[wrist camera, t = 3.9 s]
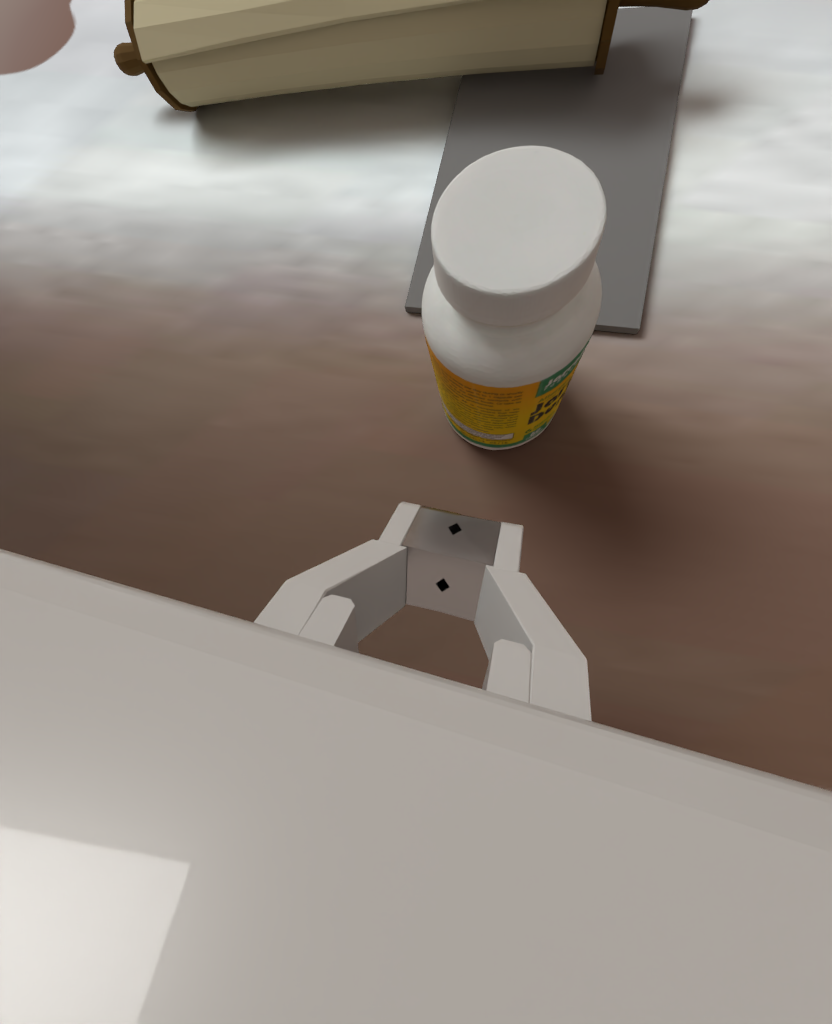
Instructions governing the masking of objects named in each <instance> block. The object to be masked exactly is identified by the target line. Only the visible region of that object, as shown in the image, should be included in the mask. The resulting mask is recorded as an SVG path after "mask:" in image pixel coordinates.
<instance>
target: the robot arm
mask: <svg viewBox="0 0 832 1024" xmlns="http://www.w3.org/2000/svg"><path fill="white" fill-rule="evenodd" d="M523 530H524V528H523V525H518V524H512V523H506V522H502V523H501V522H497V521H491V520H486V519H481V518H476V517H471V516H466V515H461V514H458V513H453V512H449V511H444V510H440V509H435V508H431V507H426V506H421V505H417V504H412V503H407V502H401V503H400V504H399V505H398V507H397V508H396V510H395V512H394V514H393V515H392V517H391V519H390V521H389V522H388V524H387V526H386V528H385V529H384V531H383V533H382V535H381V536H380V538H379V540H373V539H372V540H370V541H368V542H366V543H364V544H362V545H360V546H358V547H355V548H353V549H351V550H349V551H347V552H345V553H343V554H341V555H339V556H336V557H334V558H332V559H330V560H328V561H326V562H324V563H322V564H320V565H318V566H315V567H313V568H311V569H309V570H307V571H305V572H303V573H301V574H299V575H296V576H294V577H292V578H290V579H288V580H286V581H285V582H284V584H283V585H282V586H281V588H280V589H279V590H278V591H277V593H276V594H275V595H274V597H273V598H272V599H271V601H270V602H269V603H268V604H267V606H266V607H265V608H264V610H263V611H262V612H261V613H260V615H259V616H258V617H257V619H256V620H255V621H254V622H250V621H246V620H243V619H240V618H236V617H233V616H229V615H226V614H223V613H219V612H216V611H212V610H209V609H205V608H202V607H199V606H195V605H192V604H188V603H185V602H181V601H178V600H175V599H171V598H168V597H164V596H161V595H157V594H154V593H151V592H147V591H144V590H140V589H137V588H133V587H130V586H127V585H123V584H120V583H116V582H113V581H109V580H106V579H103V578H99V577H96V576H92V575H89V574H85V573H82V572H79V571H75V570H72V569H68V568H65V567H61V566H58V565H55V564H51V563H48V562H44V561H41V560H37V559H34V558H30V557H27V556H24V555H20V554H17V553H13V552H10V551H6V550H3V549H0V1024H832V791H829V790H825V789H822V788H818V787H815V786H812V785H808V784H805V783H801V782H798V781H795V780H791V779H788V778H784V777H781V776H777V775H774V774H771V773H767V772H764V771H760V770H757V769H753V768H750V767H747V766H743V765H740V764H736V763H733V762H730V761H726V760H723V759H719V758H716V757H712V756H709V755H706V754H702V753H699V752H695V751H692V750H688V749H685V748H682V747H678V746H675V745H671V744H668V743H665V742H661V741H658V740H654V739H651V738H647V737H644V736H641V735H637V734H634V733H630V732H627V731H623V730H620V729H617V728H613V727H610V726H606V725H603V724H600V723H596V722H593V721H591V708H590V695H589V681H588V668H587V659H586V658H585V656H584V655H583V654H582V652H581V651H580V649H579V648H578V647H577V645H576V644H575V642H574V641H573V640H572V638H571V637H570V635H569V634H568V633H567V631H566V630H565V628H564V627H563V626H562V624H561V623H560V621H559V620H558V619H557V617H556V616H555V614H554V613H553V612H552V610H551V609H550V607H549V606H548V605H547V603H546V602H545V600H544V599H543V598H542V596H541V595H540V593H539V592H538V591H537V589H536V588H535V586H534V585H533V583H532V582H531V581H530V579H529V578H528V576H527V575H526V574H524V573H520V572H519V569H520V559H521V550H522V540H523ZM405 604H409V605H413V606H417V607H422V608H426V609H430V610H435V611H439V612H443V613H446V614H450V615H453V616H457V617H460V618H464V619H467V620H471V621H474V624H475V626H476V629H477V631H478V634H479V636H480V639H481V641H482V644H483V646H484V649H485V652H486V654H487V657H488V659H489V664H488V668H487V672H486V675H485V679H484V683H483V686H482V689H479V688H476V687H472V686H469V685H466V684H462V683H459V682H455V681H452V680H448V679H445V678H442V677H438V676H435V675H431V674H428V673H424V672H421V671H418V670H414V669H411V668H407V667H404V666H401V665H397V664H394V663H390V662H387V661H383V660H380V659H377V658H373V657H370V656H366V655H363V654H359V651H358V642H359V641H361V640H362V639H363V638H364V637H366V636H367V635H368V634H370V633H371V632H372V631H373V630H375V629H376V628H377V627H379V626H380V625H381V624H382V623H384V622H385V621H386V620H388V619H389V618H390V617H391V616H393V615H394V614H395V613H396V612H398V611H399V610H400V609H402V608H403V607H404V606H405Z"/></svg>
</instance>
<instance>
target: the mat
mask: <svg viewBox="0 0 832 1024" xmlns="http://www.w3.org/2000/svg"><path fill="white" fill-rule="evenodd" d="M691 16H692V10H687V11H685V10H678V9H669V8H661V7H639V8H622V9H618V12H617V16H616V21H615V25H614V30H613V34H612V39H611V43H610V48H609V52H608V56H607V61H606V65H605V70H604V74H603V75H594V72H595V67H596V62H597V61H596V62H594V66H585V67H571V68H556V69H541V70H526V71H512V72H497V73H482V74H469V75H463V76H462V80H461V84H460V88H459V92H458V96H457V100H456V104H455V108H454V112H453V116H452V120H451V124H450V128H449V132H448V136H447V140H446V144H445V148H444V152H443V156H442V160H441V164H440V168H439V172H438V176H437V180H436V184H435V188H434V192H433V196H432V200H431V204H430V208H429V212H428V216H427V220H426V224H425V228H424V232H423V236H422V240H421V244H420V248H419V252H418V256H417V260H416V264H415V268H414V272H413V276H412V280H411V284H410V288H409V292H408V296H407V300H406V304H405V309H406V312H414V313H422V297H423V292H424V287H425V284H426V281H427V278H428V276H429V273H430V271H431V269H432V267H433V265H434V258H433V250H432V242H431V224H432V218H433V214H434V211H435V208H436V206H437V203H438V201H439V199H440V197H441V195H442V194H443V192H444V191H445V189H446V188H447V186H448V185H449V184H450V183H451V181H452V180H453V179H454V178H455V177H456V176H457V175H458V174H459V173H461V171H463V170H464V169H465V168H466V167H467V166H469V165H470V164H472V163H473V162H475V161H477V160H478V159H480V158H482V157H484V156H486V155H489V154H491V153H493V152H496V151H500V150H503V149H507V148H512V147H519V146H531V145H532V146H545V147H550V148H554V149H557V150H560V151H563V152H565V153H568V154H570V155H572V156H574V157H575V158H577V159H579V160H581V161H582V162H583V163H584V164H585V165H586V166H587V167H589V168H590V169H591V170H592V171H593V172H594V174H595V176H596V177H597V178H598V180H599V182H600V184H601V187H602V190H603V192H604V195H605V199H606V214H607V219H606V223H605V228H604V232H603V235H602V239H601V242H600V245H599V248H598V252H597V255H596V258H595V262H596V264H597V266H598V270H599V273H600V278H601V285H602V298H601V307H600V312H599V316H598V319H597V322H596V325H595V328H594V330H599V331H610V332H620V333H630V334H637V332H638V331H639V329H640V324H641V318H642V312H643V306H644V300H645V294H646V288H647V282H648V276H649V270H650V264H651V258H652V252H653V246H654V240H655V234H656V228H657V221H658V215H659V209H660V203H661V197H662V191H663V185H664V179H665V173H666V167H667V161H668V155H669V149H670V143H671V137H672V131H673V125H674V119H675V113H676V107H677V101H678V95H679V89H680V83H681V77H682V71H683V65H684V59H685V53H686V46H687V40H688V34H689V28H690V22H691Z"/></svg>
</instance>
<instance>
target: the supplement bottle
mask: <svg viewBox="0 0 832 1024" xmlns="http://www.w3.org/2000/svg"><path fill="white" fill-rule="evenodd" d="M606 219H607V214H606V199H605V195H604V192H603V190H602V187H601V184H600V182H599V180H598V178H597V177H596V176H595V174H594V172H593V171H592V170H591V169H590V168H589V167H587V166H586V165H585V164H584V163H583V162H582V161H581V160H579V159H577V158H575V157H574V156H572V155H570V154H568V153H565V152H563V151H560V150H557V149H554V148H550V147H545V146H532V145H531V146H519V147H512V148H507V149H503V150H500V151H496V152H493V153H491V154H489V155H486V156H484V157H482V158H480V159H478V160H477V161H475V162H473V163H472V164H470V165H469V166H467V167H466V168H465V169H464V170H463V171H461V173H459V174H458V175H457V176H456V177H455V178H454V179H453V180H452V181H451V183H450V184H449V185H448V186H447V188H446V189H445V191H444V192H443V194H442V195H441V197H440V199H439V201H438V203H437V206H436V208H435V211H434V214H433V218H432V224H431V242H432V250H433V258H434V265H433V267H432V269H431V271H430V273H429V276H428V278H427V281H426V284H425V287H424V292H423V297H422V322H423V328H424V333H425V338H426V343H427V346H428V350H429V353H430V357H431V361H432V365H433V369H434V372H435V377H436V381H437V385H438V389H439V393H440V397H441V401H442V405H443V408H444V412H445V415H446V417H447V419H448V421H449V423H450V425H451V426H452V428H453V429H454V430H455V432H456V433H457V434H458V435H459V436H461V437H462V438H463V439H464V440H466V441H467V442H469V443H471V444H473V445H475V446H478V447H481V448H484V449H489V450H503V449H510V448H514V447H517V446H521V445H523V444H525V443H527V442H529V441H531V440H532V439H534V438H536V437H537V436H538V435H540V434H541V433H542V432H543V431H544V430H545V428H546V427H547V426H548V425H549V423H550V422H551V420H552V418H553V416H554V415H555V413H556V411H557V409H558V406H559V404H560V402H561V400H562V397H563V395H564V394H565V391H566V389H567V387H568V384H569V382H570V380H571V378H572V376H573V374H574V371H575V369H576V367H577V365H578V363H579V361H580V359H581V357H582V354H583V353H584V350H585V348H586V346H587V344H588V342H589V340H590V338H591V336H592V334H593V331H594V328H595V325H596V322H597V319H598V316H599V312H600V307H601V298H602V285H601V278H600V273H599V270H598V266H597V264H596V262H595V258H596V255H597V252H598V248H599V245H600V242H601V239H602V235H603V232H604V228H605V223H606Z"/></svg>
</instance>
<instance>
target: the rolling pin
mask: <svg viewBox="0 0 832 1024" xmlns="http://www.w3.org/2000/svg"><path fill="white" fill-rule="evenodd" d="M708 1H709V0H125V23H126V27H127V30H128V33H129V36H130V39H131V42H132V43H121V44H119V45H117V47H116V48H115V50H114V58H115V61H116V64H117V65H118V67H119V68H120V70H121V71H123V72H124V73H125V74H127V75H130V76H138V75H140V74H142V73H144V72H145V74H146V75H147V77H148V79H149V81H150V82H151V84H152V86H153V87H154V89H155V91H156V92H157V93H158V94H159V95H160V96H161V97H162V98H163V99H164V100H165V101H166V102H168V103H169V104H170V105H171V106H172V107H173V108H174V109H175V110H181V111H188V112H192V111H196V110H197V108H198V106H201V105H208V104H215V103H223V102H230V101H237V100H244V99H251V98H258V97H265V96H272V95H280V94H288V93H296V92H305V91H313V90H322V89H330V88H338V87H347V86H355V85H364V84H373V83H383V82H394V81H405V80H416V79H426V78H437V77H448V76H459V75H469V74H482V73H497V72H512V71H526V70H541V69H556V68H571V67H585V66H594V62H596V61H597V62H596V67H595V72H594V75H603V74H604V70H605V65H606V61H607V56H608V52H609V48H610V43H611V39H612V34H613V30H614V25H615V21H616V16H617V12H618V7H627V6H642V7H661V8H669V9H678V10H685V11H687V10H694V9H698V8H700V7H702V6H704V5H705V4H707V2H708Z"/></svg>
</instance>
